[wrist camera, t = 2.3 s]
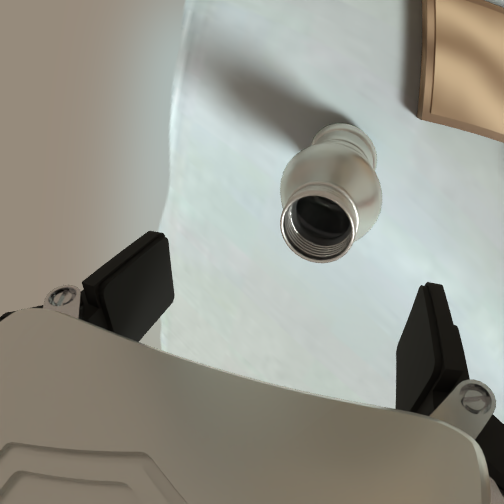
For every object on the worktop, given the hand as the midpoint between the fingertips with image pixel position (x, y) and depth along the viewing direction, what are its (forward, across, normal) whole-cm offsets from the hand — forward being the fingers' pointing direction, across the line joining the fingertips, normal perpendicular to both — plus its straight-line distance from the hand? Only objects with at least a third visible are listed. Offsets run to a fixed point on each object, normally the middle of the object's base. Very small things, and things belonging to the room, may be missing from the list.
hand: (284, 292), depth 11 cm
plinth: (+24, -15, -13) cm, 31 cm away
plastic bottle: (+25, -1, -1) cm, 25 cm away
